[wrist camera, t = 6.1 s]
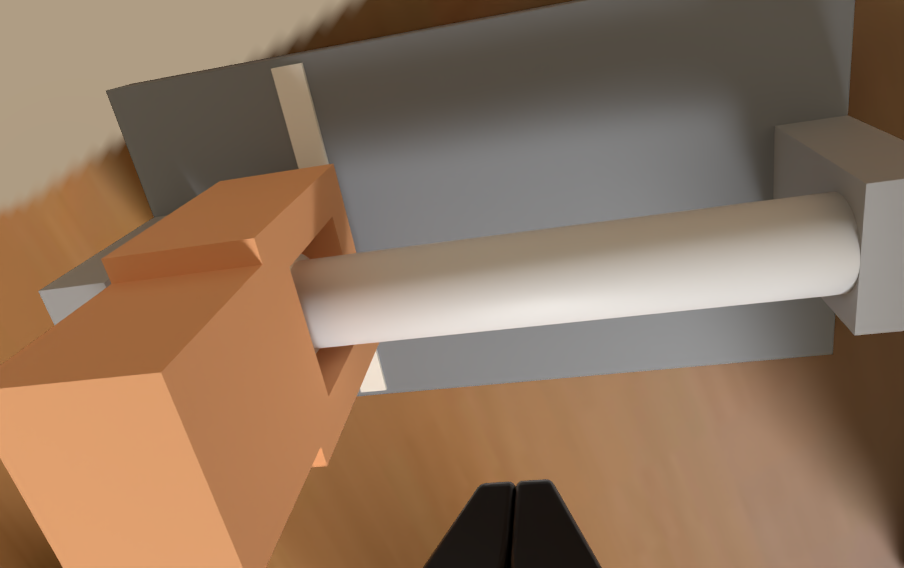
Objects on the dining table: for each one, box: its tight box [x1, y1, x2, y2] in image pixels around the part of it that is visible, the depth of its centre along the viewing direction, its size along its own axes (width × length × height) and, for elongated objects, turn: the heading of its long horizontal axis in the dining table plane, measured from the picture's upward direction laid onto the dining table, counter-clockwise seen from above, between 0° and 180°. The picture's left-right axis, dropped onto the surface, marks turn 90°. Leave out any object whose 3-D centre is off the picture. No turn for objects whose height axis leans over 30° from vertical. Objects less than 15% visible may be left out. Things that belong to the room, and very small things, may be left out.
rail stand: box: [39, 0, 904, 396], centre depth 16 cm, size 18×10×6 cm, turn 100°
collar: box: [0, 164, 379, 568], centre depth 13 cm, size 3×5×8 cm, turn 11°
